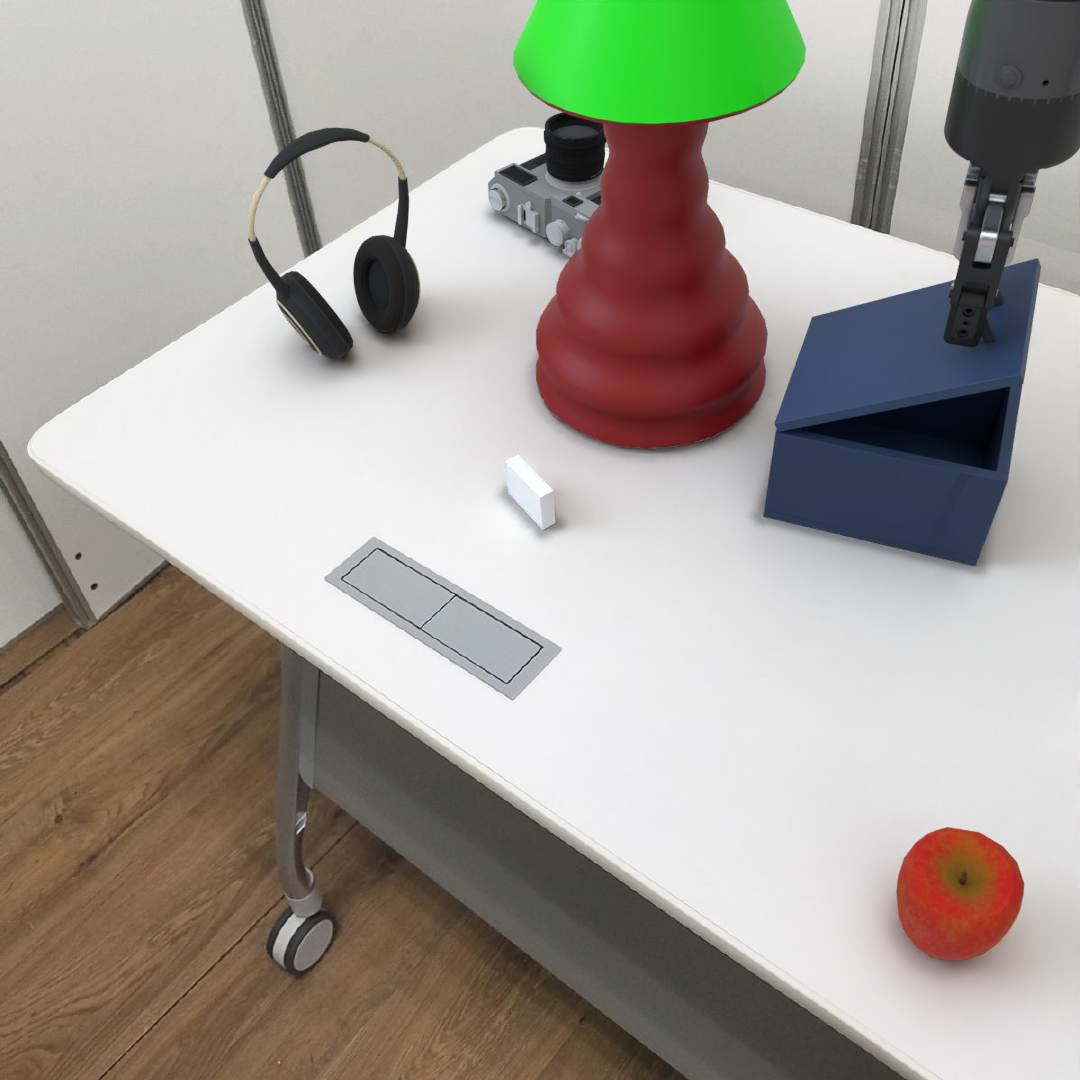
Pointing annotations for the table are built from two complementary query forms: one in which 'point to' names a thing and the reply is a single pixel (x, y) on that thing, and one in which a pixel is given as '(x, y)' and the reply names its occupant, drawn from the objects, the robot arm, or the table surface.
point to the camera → (555, 182)
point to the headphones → (378, 266)
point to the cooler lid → (907, 353)
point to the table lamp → (654, 213)
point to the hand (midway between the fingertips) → (966, 315)
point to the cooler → (901, 474)
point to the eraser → (530, 492)
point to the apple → (958, 893)
